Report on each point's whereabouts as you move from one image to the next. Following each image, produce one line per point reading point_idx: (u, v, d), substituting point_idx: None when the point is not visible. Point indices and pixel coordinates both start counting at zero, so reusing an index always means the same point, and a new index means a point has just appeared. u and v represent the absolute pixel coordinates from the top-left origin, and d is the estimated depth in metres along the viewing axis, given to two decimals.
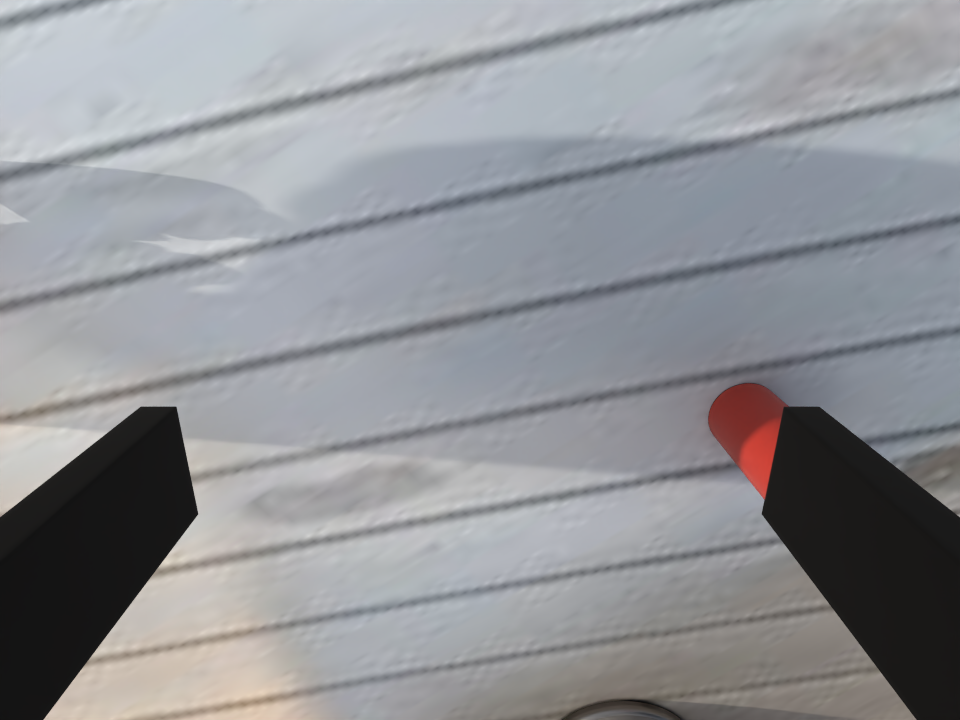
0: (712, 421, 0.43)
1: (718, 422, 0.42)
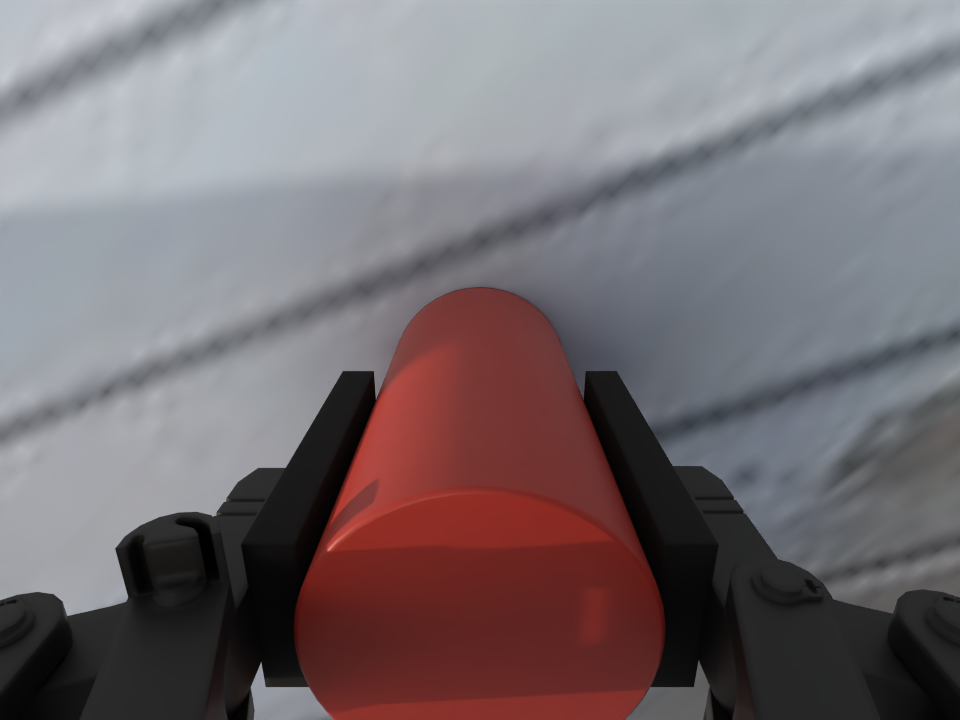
0: None
1: None
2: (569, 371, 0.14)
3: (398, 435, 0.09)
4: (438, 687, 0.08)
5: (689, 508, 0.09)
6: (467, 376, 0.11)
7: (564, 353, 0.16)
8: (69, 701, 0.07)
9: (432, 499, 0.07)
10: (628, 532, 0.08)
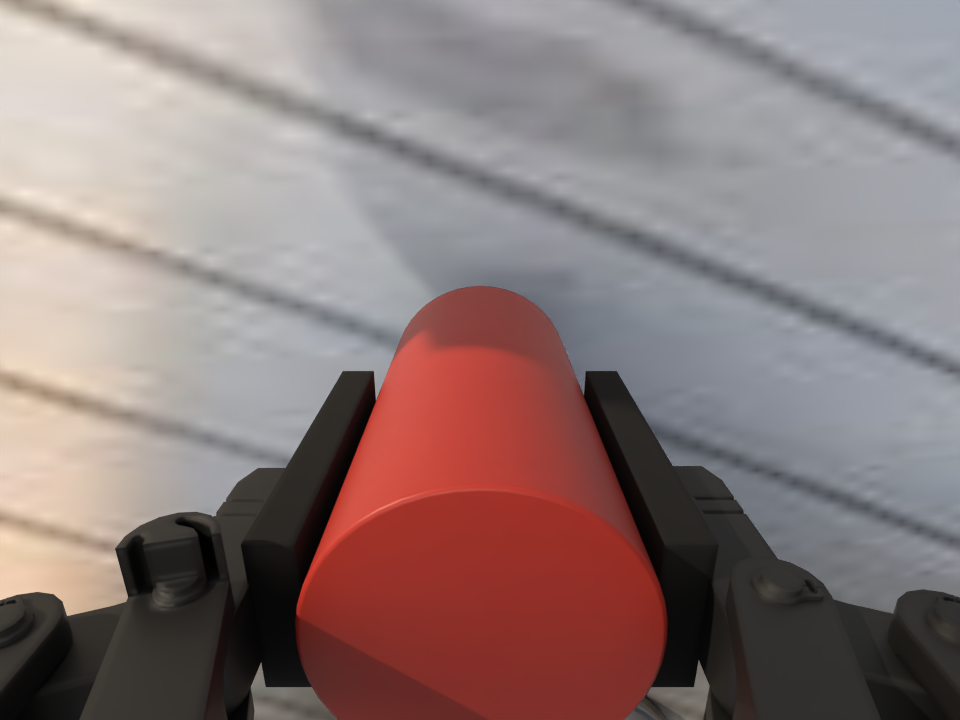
0: None
1: None
2: (570, 369, 0.14)
3: (400, 433, 0.09)
4: (440, 685, 0.08)
5: (689, 508, 0.09)
6: (468, 374, 0.11)
7: (565, 351, 0.16)
8: (69, 701, 0.07)
9: (434, 497, 0.07)
10: (630, 530, 0.08)
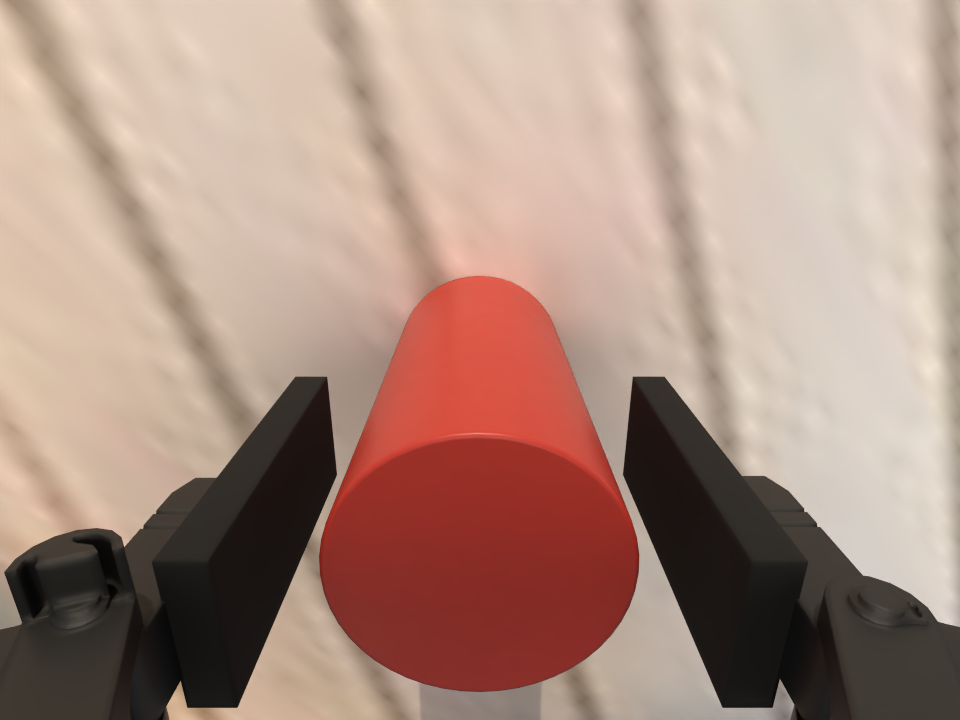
0: None
1: None
2: (561, 350, 0.15)
3: (408, 397, 0.10)
4: (443, 611, 0.10)
5: (769, 522, 0.09)
6: (468, 349, 0.12)
7: (557, 336, 0.17)
8: None
9: (438, 442, 0.09)
10: (606, 475, 0.09)
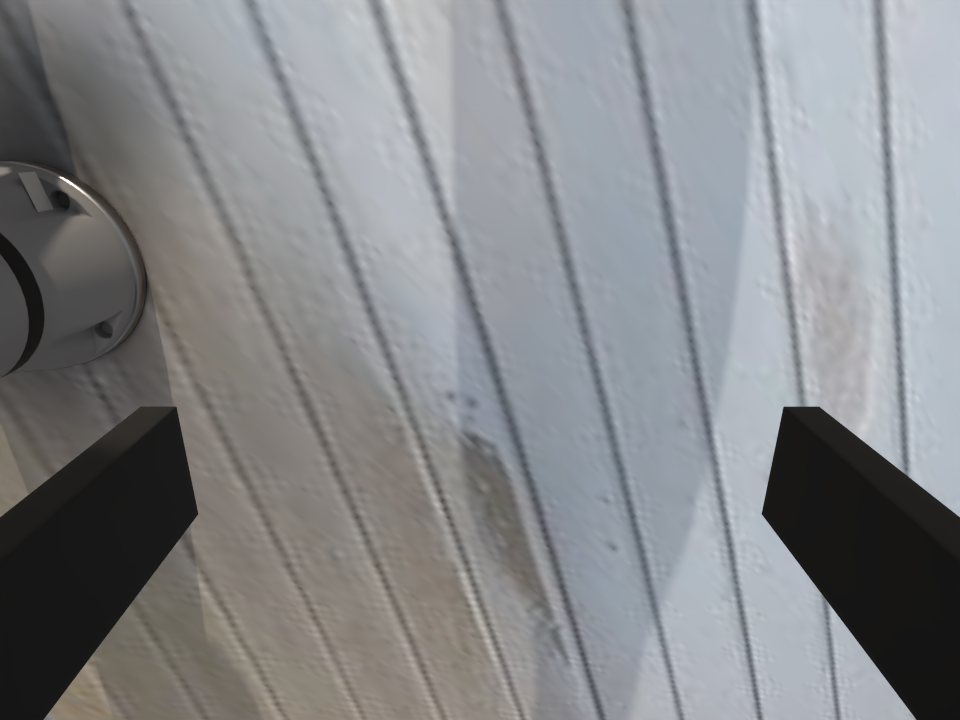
0: None
1: None
2: None
3: None
4: None
5: None
6: None
7: None
8: None
9: None
10: None
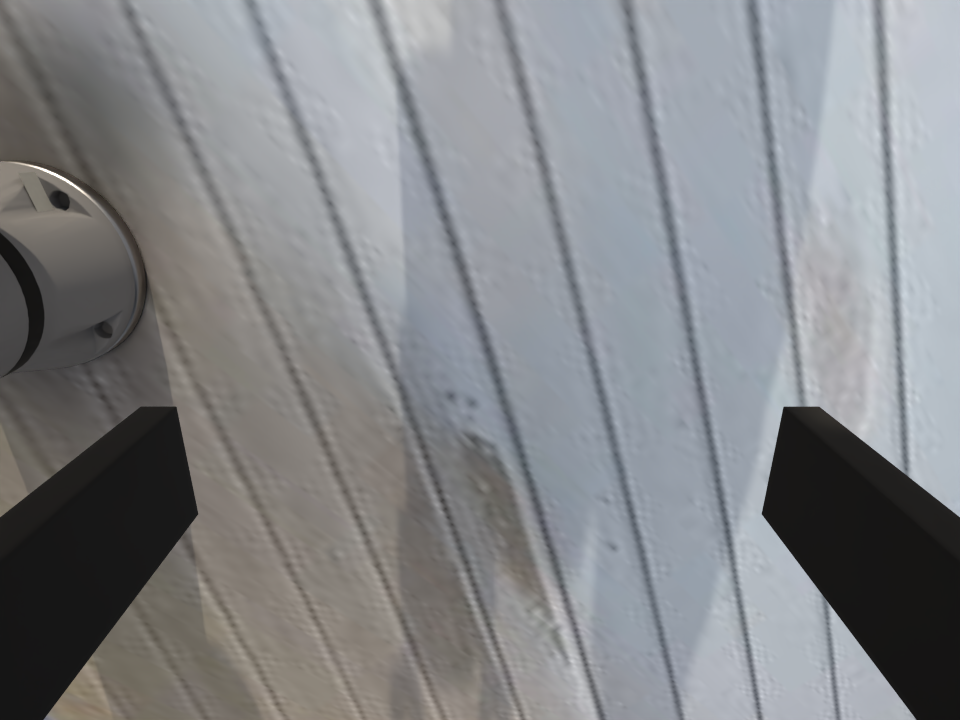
0: None
1: None
2: None
3: None
4: None
5: None
6: None
7: None
8: None
9: None
10: None
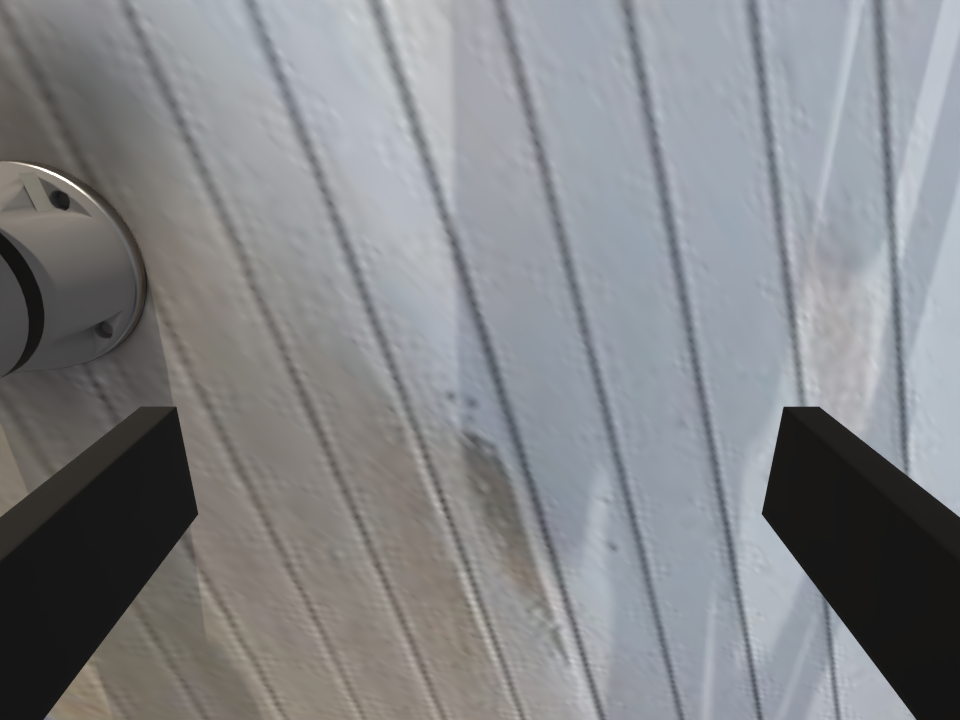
0: None
1: None
2: None
3: None
4: None
5: None
6: None
7: None
8: None
9: None
10: None
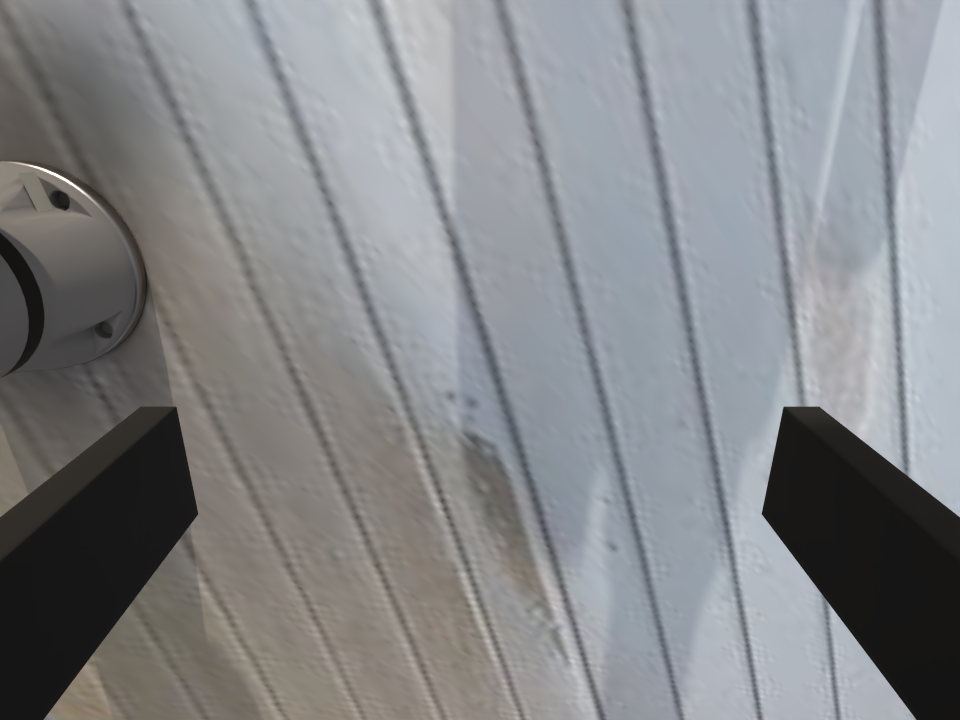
0: None
1: None
2: None
3: None
4: None
5: None
6: None
7: None
8: None
9: None
10: None
